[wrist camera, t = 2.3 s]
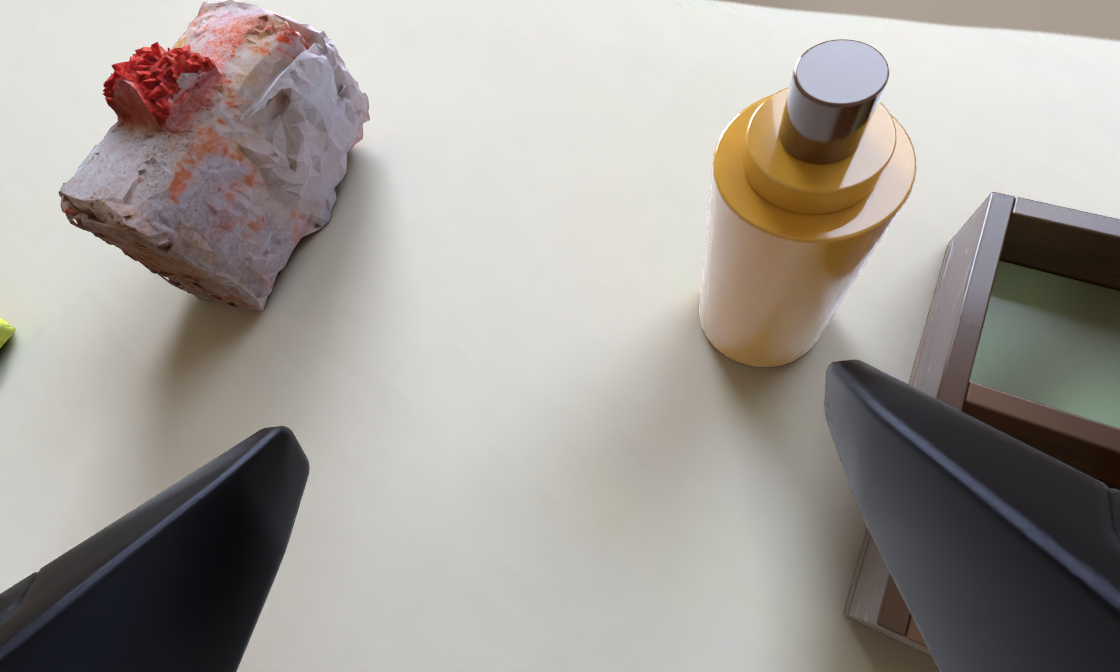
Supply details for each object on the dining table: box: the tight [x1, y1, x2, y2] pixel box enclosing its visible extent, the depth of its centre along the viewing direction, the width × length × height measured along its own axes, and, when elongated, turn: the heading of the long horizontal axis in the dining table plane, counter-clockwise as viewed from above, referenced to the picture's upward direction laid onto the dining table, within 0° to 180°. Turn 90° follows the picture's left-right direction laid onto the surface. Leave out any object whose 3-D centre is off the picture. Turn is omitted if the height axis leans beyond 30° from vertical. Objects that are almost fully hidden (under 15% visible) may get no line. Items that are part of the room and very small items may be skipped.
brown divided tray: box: [844, 192, 1120, 656], centre depth 19 cm, size 8×16×4 cm, turn 154°
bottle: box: [699, 40, 916, 367], centre depth 18 cm, size 5×5×13 cm
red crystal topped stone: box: [59, 0, 370, 311], centre depth 27 cm, size 14×8×10 cm, turn 160°
